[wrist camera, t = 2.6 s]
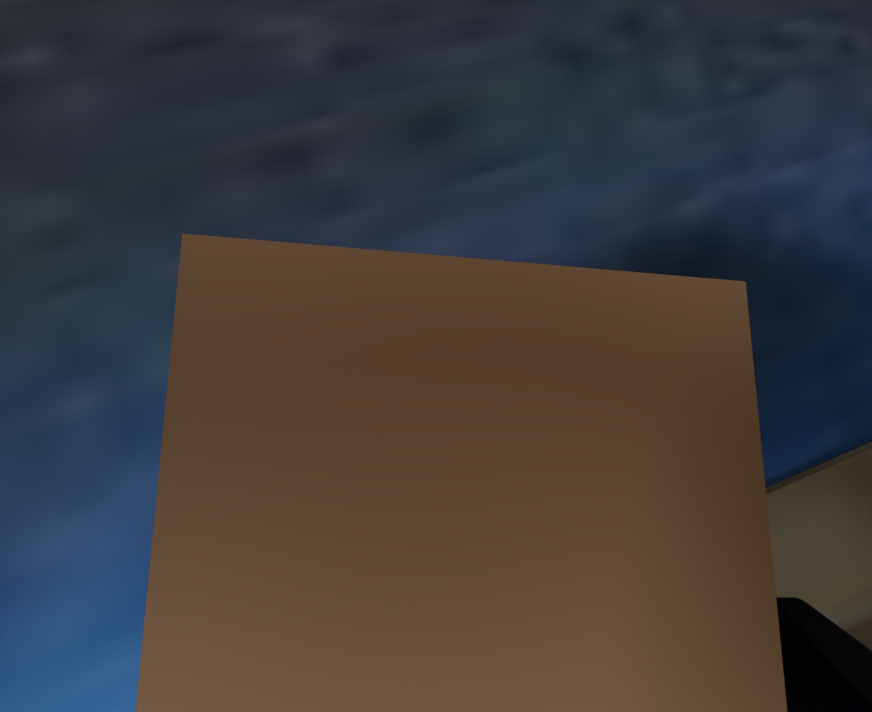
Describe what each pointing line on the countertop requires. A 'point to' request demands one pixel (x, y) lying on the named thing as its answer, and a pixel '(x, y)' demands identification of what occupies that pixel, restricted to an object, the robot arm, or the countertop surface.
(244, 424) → the wooden peg
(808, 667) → the robot arm
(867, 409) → the countertop surface
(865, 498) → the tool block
